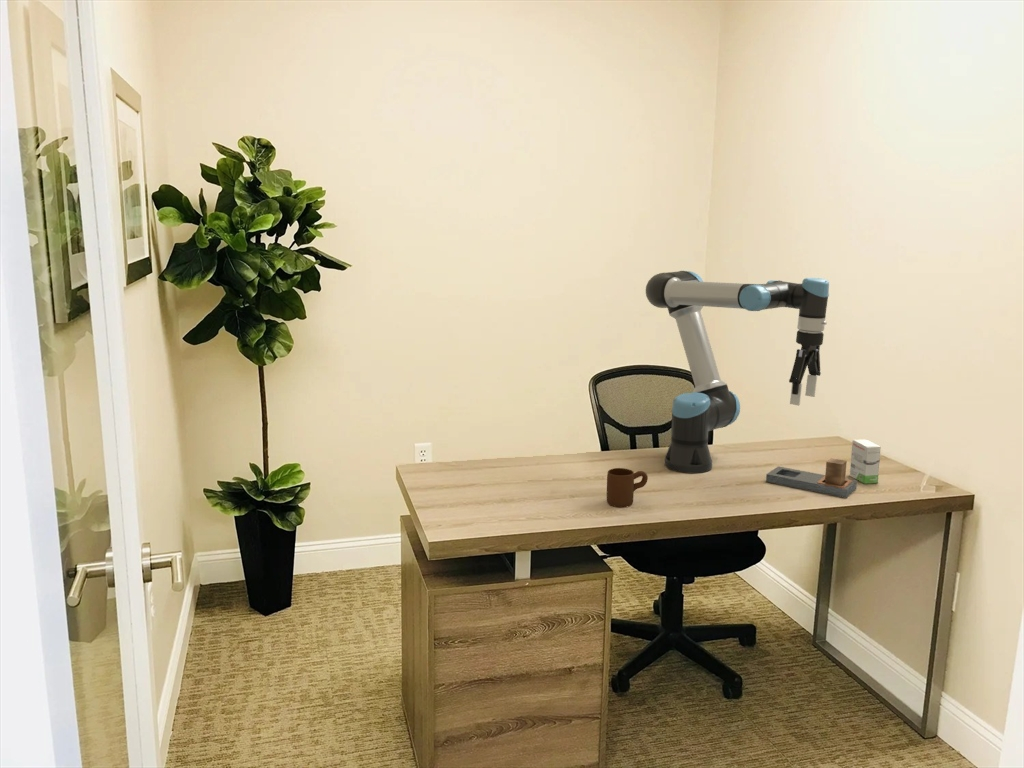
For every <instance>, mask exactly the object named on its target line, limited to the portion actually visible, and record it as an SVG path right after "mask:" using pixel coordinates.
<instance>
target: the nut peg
mask: <svg viewBox="0 0 1024 768" xmlns="http://www.w3.org/2000/svg"><path fill="white" fill-rule="evenodd" d="M847 462H848V461H847V460H843V459H839V458H829V459H828V460H827V461H826V463H825V474H824V475H825V483H829V484H834V485H839V486H843V485H844V484H845V479H846V473H847Z"/></svg>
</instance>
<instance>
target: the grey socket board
mask: <svg viewBox="0 0 1024 768" xmlns="http://www.w3.org/2000/svg"><path fill="white" fill-rule="evenodd" d="M765 482H766V483H770V484H775V485H779V486H784V487H789V488H794V489H799V490H804V491H810V492H814V493H820V494H822V495H829V496H834V497H839V498H845V499H847V498H848V497H850V496H851V495H852V494H853V493H854V492H855V491H856V490H857V486H858V485H857V484H858V480H853V479H849V478H845V484H844V485H843V486H839V485H834V484H829V483H825V474H821V473H814V472H810V471H806V470H800V469H794V468H789V467H784V466H776V467H774V469H772V470H770V471H769V472H767V473H766V476H765ZM852 492H853V493H852Z"/></svg>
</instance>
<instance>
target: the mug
mask: <svg viewBox="0 0 1024 768" xmlns="http://www.w3.org/2000/svg"><path fill="white" fill-rule="evenodd" d="M640 477H642V478H641V480H640V481H639V482H635V480H636V479H638V478H640ZM648 479H649V477H648V475H647V472H645V471H643V470H638V471H636V472H634V471H633V470H631V469H629V468H623V467H615V468H611V469H609V470H607V476H606V503H607V504H608V505H609V506H611V507H614V506H616V507H615V508H628V507H630V505H631V506H632V505H633V504H634V493H635V492H636V491H637V490H638V489H641V488H643V487H645V486H646V485H647V482H648ZM627 506H628V507H627Z"/></svg>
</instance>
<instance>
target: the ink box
mask: <svg viewBox="0 0 1024 768" xmlns="http://www.w3.org/2000/svg"><path fill="white" fill-rule="evenodd" d="M851 441H852V444H851V454H850V455H851V456H850V467H849V476H850V477H852V478H853V479H855V480H856V481H858V480H859V481H858V482H860V483H862V484H863V485H864V484H878V483H879V473H880V460H881V446H880V445H878V444H876V443H874V442H872V441H870V440H868V439H852V440H851Z"/></svg>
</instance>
